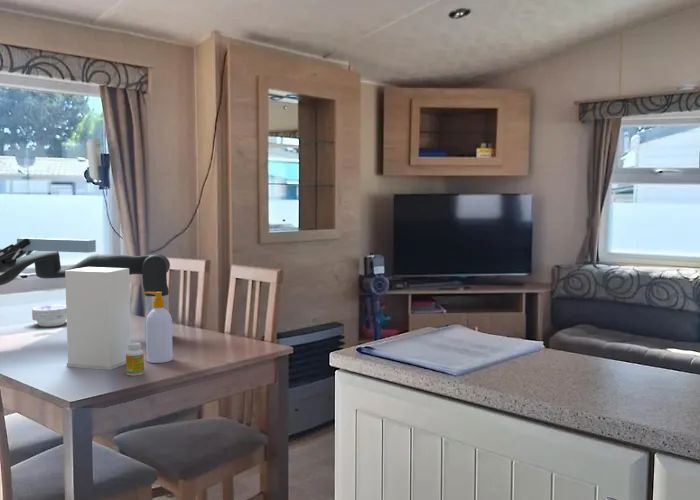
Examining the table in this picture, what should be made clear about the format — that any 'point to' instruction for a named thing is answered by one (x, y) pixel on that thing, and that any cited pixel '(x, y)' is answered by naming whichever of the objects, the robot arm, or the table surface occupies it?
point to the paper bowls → (50, 315)
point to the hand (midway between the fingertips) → (33, 240)
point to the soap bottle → (159, 332)
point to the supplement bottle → (134, 359)
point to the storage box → (97, 317)
